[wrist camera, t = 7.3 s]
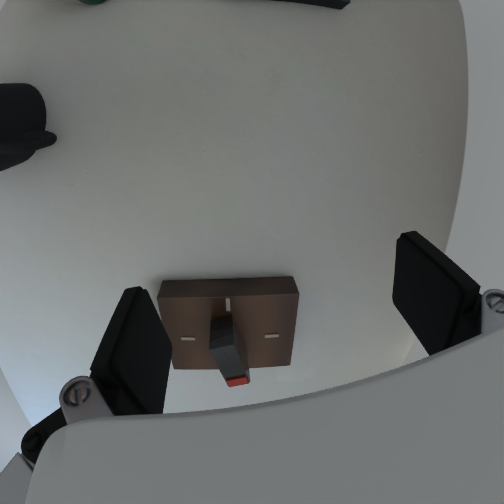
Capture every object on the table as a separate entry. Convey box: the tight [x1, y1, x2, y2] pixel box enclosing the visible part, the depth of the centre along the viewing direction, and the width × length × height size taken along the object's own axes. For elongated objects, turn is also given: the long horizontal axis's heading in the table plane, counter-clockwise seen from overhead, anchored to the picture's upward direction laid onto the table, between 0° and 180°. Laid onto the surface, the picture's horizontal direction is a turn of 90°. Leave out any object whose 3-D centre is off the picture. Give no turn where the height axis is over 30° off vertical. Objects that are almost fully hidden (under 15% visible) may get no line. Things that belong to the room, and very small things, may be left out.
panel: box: [157, 277, 299, 369], centre depth 30 cm, size 13×10×3 cm
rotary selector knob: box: [209, 315, 250, 387], centre depth 26 cm, size 6×2×4 cm, turn 14°
